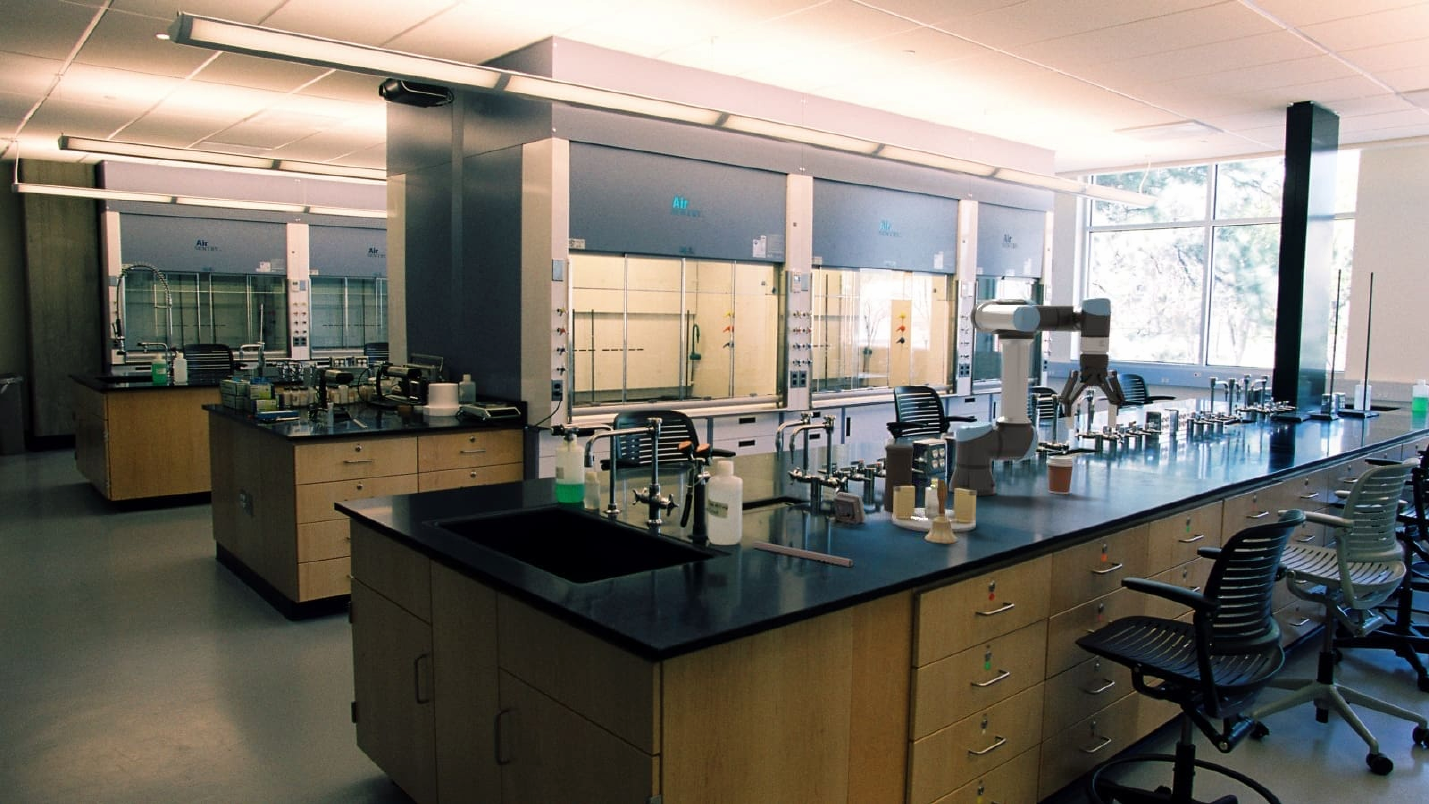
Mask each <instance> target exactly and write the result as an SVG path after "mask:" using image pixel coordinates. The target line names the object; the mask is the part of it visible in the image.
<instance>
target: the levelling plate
mask: <svg viewBox="0 0 1429 804" xmlns="http://www.w3.org/2000/svg"><path fill="white" fill-rule="evenodd" d="M937 488H938V485H932V484H930V485H929V486H926V487H925V489H924V490H925V493H924V494H925V495H924V507H916V508H915V507H914V515H912V518H911V519H897V518H896V516H895V515H893V513H892V517H891V518H892V519H891V521H892V523H893V524H894V525H895V526H897V527H900V528H902V529H907V530H910V531H911V530H912V531H916V532H917V531H918V532H924V533H929V532H930V530H931V528H932V524H933V519H934V518H937V517H938V516H939V513H938V512H939V501H938V498H937ZM945 517H946V518H948V519H949V520H950V522H951V529H952V532H953V534H954V533H962V532H969V531H971V530H974V529H975V528H976V527H977V526H976V523H977V522H976V521H977V519H976V517H975V520H973V522H972V523H960V522H957V521H956V518H954V509H947V508H945Z"/></svg>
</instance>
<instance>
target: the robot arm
mask: <svg viewBox="0 0 1429 804" xmlns="http://www.w3.org/2000/svg"><path fill="white" fill-rule="evenodd" d="M1111 303H1112V301H1111V300H1110V298H1107V297H1086V298H1084V299H1083V300H1082V302H1081V305H1046V304H1045V305H1043V304H1040V305H1039V304H1038V303H1037V302H1036V301H1034V300H1031V299H1023V298H1020V299H1018V298H1017V299H1016V298H1015V299H1013V298H1012V299H1010V298H1009V299H1007V298H1006V299H1005V298H1004V299H1002V298H1000V299H998V298H996V299H995V298H992V299H985V300H981V301H980V302H978V303H976V304H975V305H974V306H973V307H972V309H971V312H970V314H969V315H970V316H969V317H970V318H969V319H970V323H971V325H972V327H974V329H976V330H977V331H978V332H981V333H983V334H987V335H988V334H989V335H998V336H997V340H998V341H999V342H1000V343H1001V345H1002V352H1001V353H1002V357H1001V384H1000V385H1001V387H1000V388H1001V389H1000V390H1001V391H1000V412H999V413H1000V414H999V417H997V418H996V419H995V424H994V425H993V423H992V422H991V421H972V422H967V423H962V424H960V425H959V426H958V427H957V429H956V435H955V463H954V465H955V466H954V467H955V468H954V470H953V473H952V476H951V478H950V481H949V485H948V487H949V488H948V491H949V492H951V493H954V490H955V489H956V488H960V489H967V490H977V495H976V497H977V496H980V497H981V496H992V495H996V493H997V492H996V491H997V488H996V487H997V486H996V483H995V479H994V476H993V473H992V461H995V462H996V461H997V462H999V461H1014V462H1019V461H1027V460H1030V459H1031V458H1032V457H1033V456H1034V455H1035V454H1036V452H1037V450H1038V446H1039V434H1038V429H1037V428H1036V427H1035V426H1033V424H1032V420H1031V418H1029V417H1028V405H1029V404H1028V403H1029V401H1028V400H1029V397H1028V396H1029V374H1030V371H1029V370H1030V346H1031V344H1032V343H1033V342H1034V341H1035V336H1036V335H1038V334H1039V333H1041V332H1070V333H1072V332H1073V333H1076V332H1077V333H1078V332H1080V342H1079V343H1080V345H1079V351H1080V352H1081V353H1080V354H1079V364H1078V365H1079V368H1080V369H1079V370H1074V369H1071V370H1069V373H1068V374H1069V375H1068V379H1067V380H1066V382H1065V383H1066V384H1065V385H1064V387H1063V388H1062V390H1061V393H1060V395H1059V397H1058V400H1057V402H1058V403H1060V404H1062V405H1063V406H1064V409H1063V410H1064V413H1063V415H1064V417H1065V428H1066V429H1068V430H1074V429H1075V415H1076V414H1075V413H1076V406H1075V405H1073V404H1074V403H1075V402H1076V401H1077V400H1078V398H1079V397H1080V395H1081V394H1082V393H1083V392H1084V391H1085V389H1086V388H1088V387H1099V388H1100V390H1101V391H1102V392H1103V393H1104V395H1105V396H1106V398H1107V399H1108V401H1109V403H1110V404H1108V408H1107V426H1106V427H1107V428H1110V429H1116V428H1117V417H1119V412H1120V411H1119V410H1120V406H1121V405H1123V403H1126V401H1127V399H1126V396H1125V394H1124V392H1123V389H1122V386H1121V384H1120V381H1119V378H1118V371H1117V370H1114V369H1108V367H1109V358H1110V357H1109V356H1110V355H1109V354H1108V353H1109V351H1110V334H1111V333H1110V332H1111V331H1110V330H1111V321H1112V318H1111V316H1112V304H1111ZM1079 378H1080V379H1079ZM1106 378H1107V379H1108V381H1107V379H1106Z"/></svg>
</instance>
